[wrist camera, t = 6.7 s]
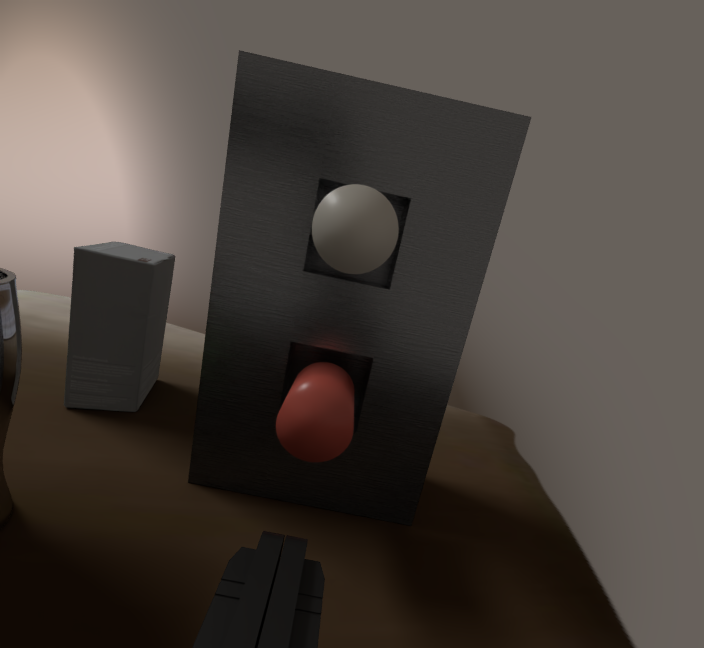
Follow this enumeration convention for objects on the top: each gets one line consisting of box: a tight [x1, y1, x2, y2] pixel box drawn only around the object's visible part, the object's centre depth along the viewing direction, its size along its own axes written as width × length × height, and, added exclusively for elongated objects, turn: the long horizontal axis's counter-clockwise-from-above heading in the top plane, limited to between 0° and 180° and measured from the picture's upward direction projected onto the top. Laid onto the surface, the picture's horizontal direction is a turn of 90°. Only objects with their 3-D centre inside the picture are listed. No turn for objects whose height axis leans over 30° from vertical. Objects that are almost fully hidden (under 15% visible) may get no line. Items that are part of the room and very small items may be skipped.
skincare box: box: [64, 242, 175, 412], centre depth 34 cm, size 8×7×16 cm
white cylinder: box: [312, 184, 399, 274], centre depth 19 cm, size 5×4×4 cm
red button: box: [276, 362, 355, 462], centre depth 21 cm, size 5×4×4 cm
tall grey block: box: [188, 51, 531, 526], centre depth 26 cm, size 7×18×30 cm, turn 89°
